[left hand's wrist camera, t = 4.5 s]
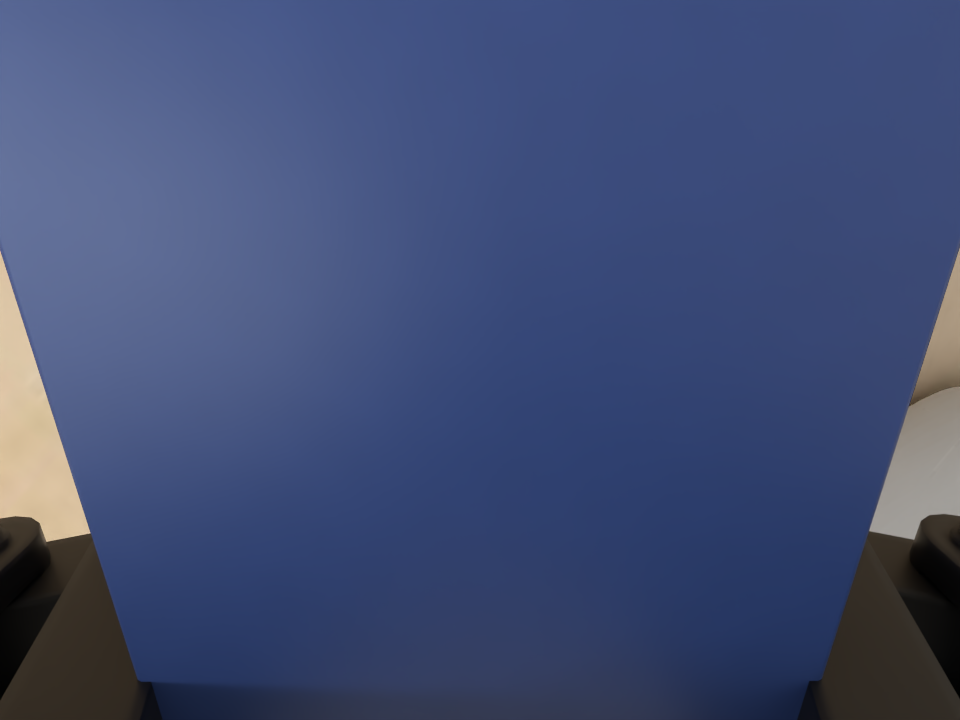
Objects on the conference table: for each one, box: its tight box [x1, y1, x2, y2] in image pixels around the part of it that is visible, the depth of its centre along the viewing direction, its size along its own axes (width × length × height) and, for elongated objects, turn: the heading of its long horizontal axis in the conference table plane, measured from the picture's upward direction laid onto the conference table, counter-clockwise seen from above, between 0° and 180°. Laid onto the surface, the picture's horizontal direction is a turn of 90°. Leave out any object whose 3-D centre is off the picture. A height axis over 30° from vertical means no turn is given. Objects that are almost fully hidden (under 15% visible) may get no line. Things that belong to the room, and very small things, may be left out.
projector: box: [869, 387, 960, 540], centre depth 22 cm, size 22×23×15 cm
